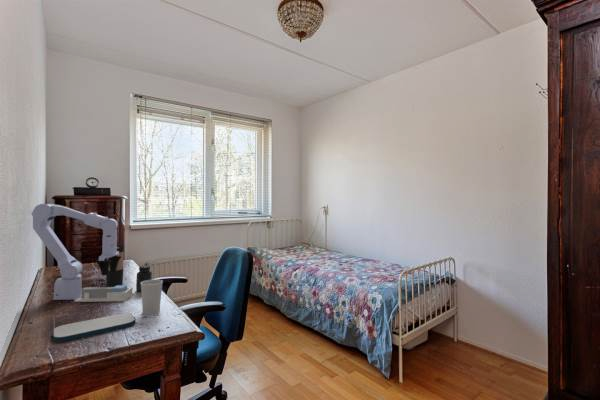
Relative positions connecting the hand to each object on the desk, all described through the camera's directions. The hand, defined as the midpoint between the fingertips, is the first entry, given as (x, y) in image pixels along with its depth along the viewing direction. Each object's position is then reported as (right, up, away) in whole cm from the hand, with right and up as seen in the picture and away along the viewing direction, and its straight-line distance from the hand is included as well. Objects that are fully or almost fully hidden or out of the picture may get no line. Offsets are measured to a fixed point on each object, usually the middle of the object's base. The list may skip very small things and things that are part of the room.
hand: (109, 273), depth 143 cm
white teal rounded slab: (+19, -11, -37) cm, 43 cm away
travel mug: (-6, -10, +13) cm, 18 cm away
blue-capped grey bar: (+2, -9, -6) cm, 11 cm away
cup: (+30, -11, -21) cm, 38 cm away
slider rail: (+2, -10, -6) cm, 12 cm away
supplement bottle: (+13, -10, +6) cm, 18 cm away
